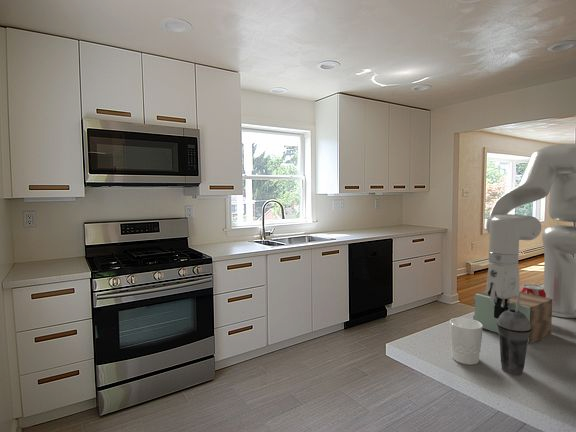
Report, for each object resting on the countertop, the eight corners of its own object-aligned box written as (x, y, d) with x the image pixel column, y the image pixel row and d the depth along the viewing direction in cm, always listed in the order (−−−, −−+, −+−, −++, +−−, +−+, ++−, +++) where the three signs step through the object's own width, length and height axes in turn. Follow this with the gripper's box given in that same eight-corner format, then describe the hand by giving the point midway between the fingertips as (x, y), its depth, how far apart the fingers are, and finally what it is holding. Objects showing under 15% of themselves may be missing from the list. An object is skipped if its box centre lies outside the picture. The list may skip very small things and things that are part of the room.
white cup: (478, 354, 97) (479, 319, 97) (484, 368, 90) (485, 330, 89) (447, 350, 100) (448, 316, 99) (450, 363, 93) (451, 326, 92)
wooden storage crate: (498, 317, 123) (499, 286, 122) (550, 333, 110) (552, 299, 109) (476, 325, 117) (477, 293, 116) (530, 343, 103) (531, 307, 102)
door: (474, 323, 117) (475, 293, 116) (529, 341, 103) (530, 307, 102) (470, 324, 116) (471, 294, 115) (525, 343, 102) (526, 308, 101)
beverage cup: (488, 364, 92) (491, 289, 90) (515, 362, 92) (518, 288, 91) (508, 379, 85) (511, 298, 83) (537, 377, 85) (540, 297, 83)
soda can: (549, 325, 115) (550, 290, 114) (525, 324, 117) (526, 289, 116) (538, 318, 122) (540, 284, 121) (516, 316, 124) (517, 283, 123)
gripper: (502, 263, 97) (500, 328, 98) (529, 257, 105) (527, 317, 106) (476, 259, 103) (474, 319, 105) (503, 253, 111) (501, 310, 113)
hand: (500, 318), depth 105 cm, fingers closed
